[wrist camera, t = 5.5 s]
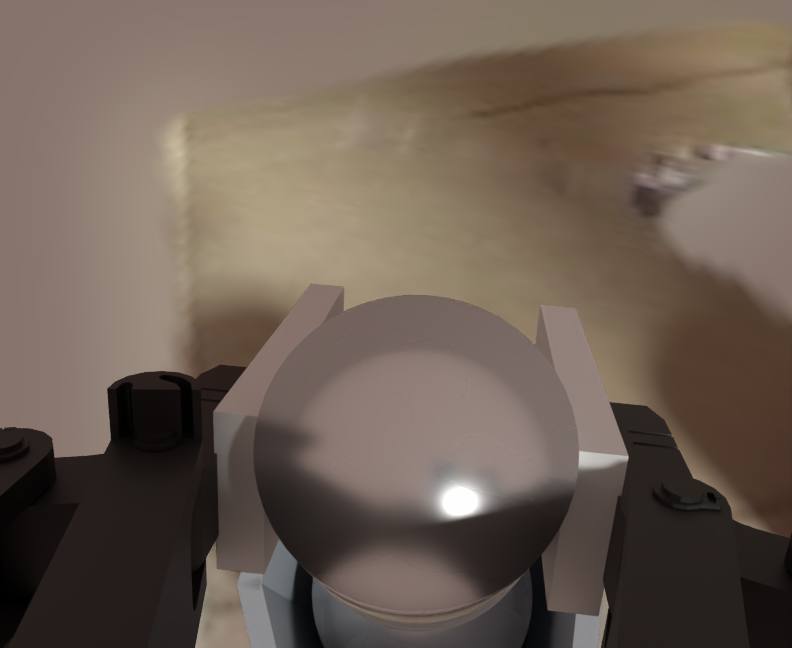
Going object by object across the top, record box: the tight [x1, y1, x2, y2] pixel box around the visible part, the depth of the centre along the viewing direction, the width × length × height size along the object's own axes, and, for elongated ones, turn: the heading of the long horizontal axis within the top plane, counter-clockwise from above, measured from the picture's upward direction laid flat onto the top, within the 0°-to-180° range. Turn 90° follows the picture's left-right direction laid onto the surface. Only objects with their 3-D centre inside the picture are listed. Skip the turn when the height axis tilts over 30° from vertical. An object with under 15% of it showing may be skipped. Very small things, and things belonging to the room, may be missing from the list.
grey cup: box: [237, 539, 602, 648], centre depth 29 cm, size 11×14×13 cm
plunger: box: [253, 295, 579, 648], centre depth 19 cm, size 8×8×18 cm
